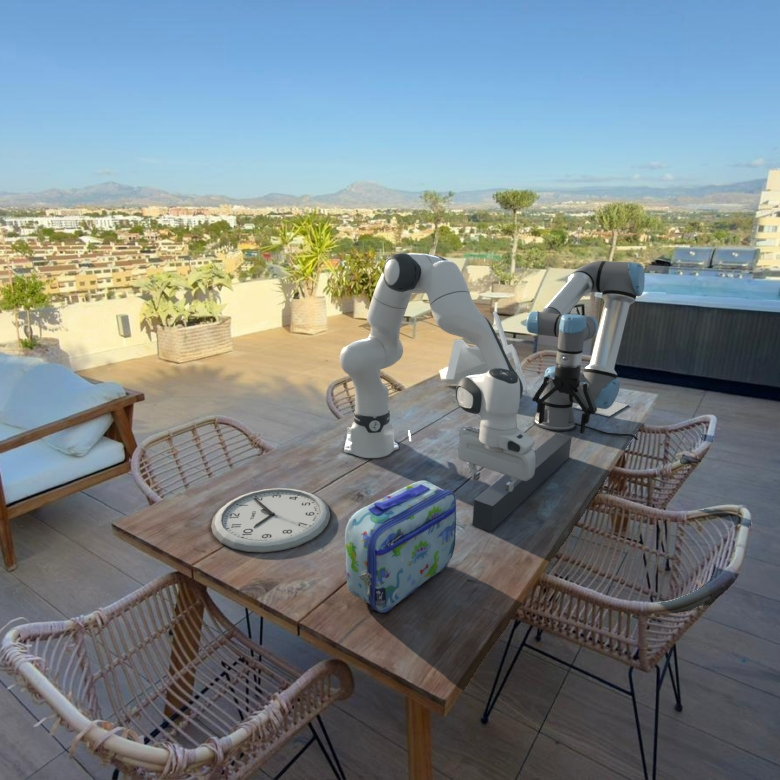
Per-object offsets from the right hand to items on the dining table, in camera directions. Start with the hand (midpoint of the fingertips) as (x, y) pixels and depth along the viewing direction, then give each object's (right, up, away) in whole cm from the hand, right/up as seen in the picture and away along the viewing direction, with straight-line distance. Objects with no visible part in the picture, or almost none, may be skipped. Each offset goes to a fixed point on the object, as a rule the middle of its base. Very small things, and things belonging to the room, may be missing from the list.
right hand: (561, 427), depth 170 cm
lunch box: (-53, -29, -58) cm, 84 cm away
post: (-15, -16, -15) cm, 27 cm away
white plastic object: (-14, +11, +73) cm, 75 cm away
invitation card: (+36, +5, +56) cm, 66 cm away
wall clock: (-87, -21, -35) cm, 96 cm away
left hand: (-30, -12, -37) cm, 49 cm away
